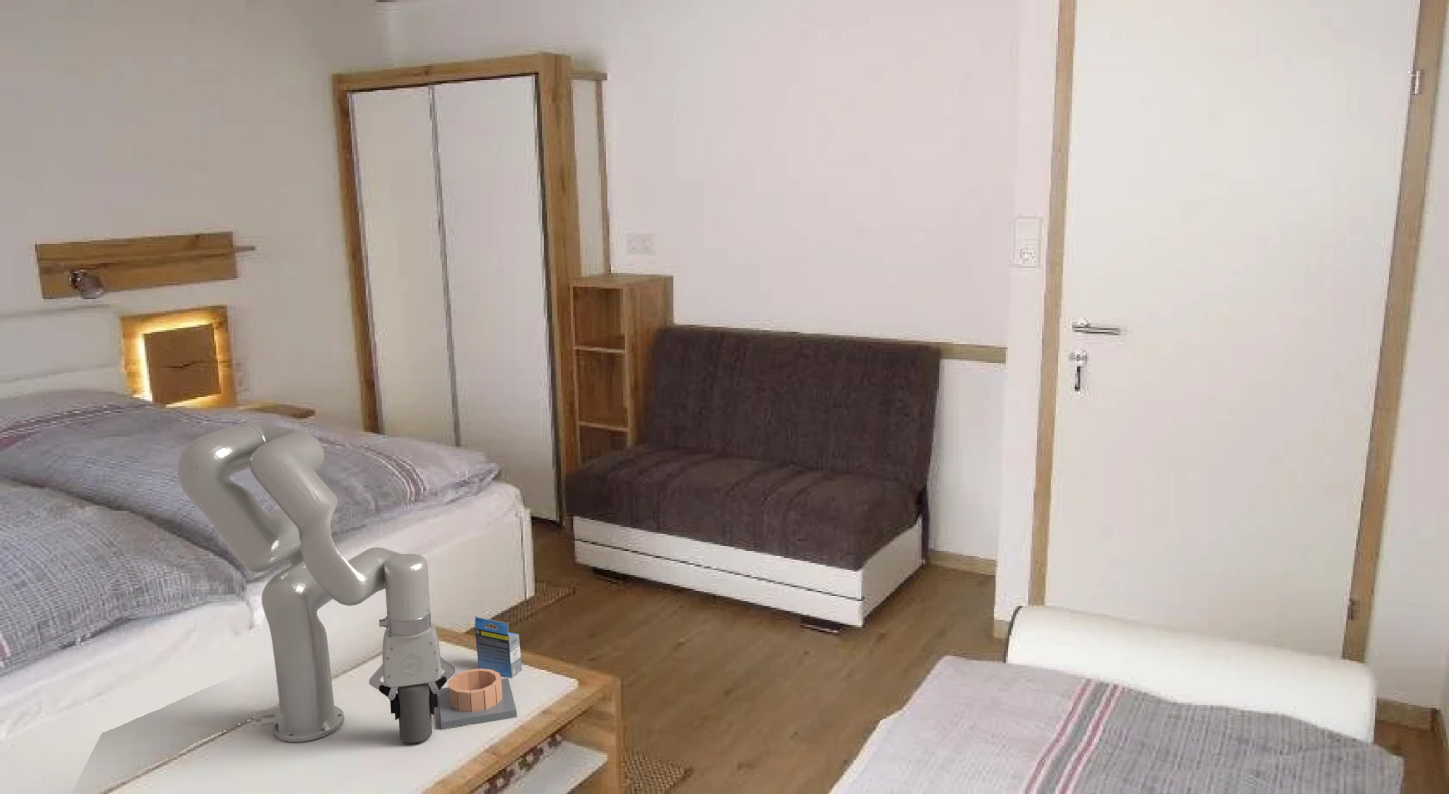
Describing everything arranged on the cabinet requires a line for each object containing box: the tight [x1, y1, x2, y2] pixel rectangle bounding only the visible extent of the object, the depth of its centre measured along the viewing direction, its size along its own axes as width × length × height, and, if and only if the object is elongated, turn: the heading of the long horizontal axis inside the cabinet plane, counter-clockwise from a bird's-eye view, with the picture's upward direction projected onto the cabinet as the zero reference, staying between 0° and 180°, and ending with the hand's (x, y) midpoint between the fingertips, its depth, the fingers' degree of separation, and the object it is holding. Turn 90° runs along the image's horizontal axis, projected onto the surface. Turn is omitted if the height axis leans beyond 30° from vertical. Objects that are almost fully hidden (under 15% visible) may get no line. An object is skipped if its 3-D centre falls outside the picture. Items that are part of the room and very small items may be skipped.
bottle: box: [397, 683, 433, 744], centre depth 193 cm, size 6×6×15 cm
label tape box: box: [474, 615, 523, 678], centre depth 220 cm, size 9×4×12 cm, turn 65°
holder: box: [437, 668, 518, 730], centre depth 206 cm, size 14×14×6 cm
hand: (414, 712), depth 194 cm, fingers closed on bottle, 5 cm apart
